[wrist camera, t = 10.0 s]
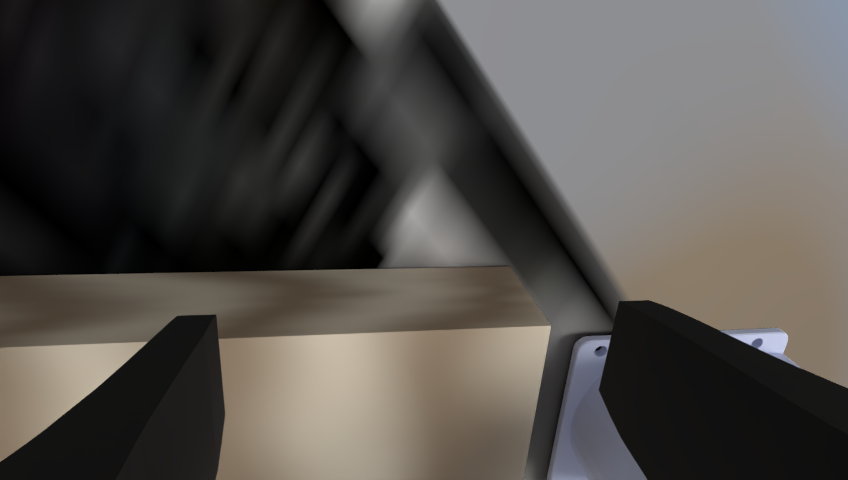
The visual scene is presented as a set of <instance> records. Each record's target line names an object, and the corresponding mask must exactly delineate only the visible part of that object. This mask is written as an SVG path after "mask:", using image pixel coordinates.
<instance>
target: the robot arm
mask: <svg viewBox="0 0 848 480" xmlns="http://www.w3.org/2000/svg"><path fill="white" fill-rule="evenodd" d="M754 340H755V341H754ZM787 341H788V336H787V334H786V333H785V332H783V331H782V330H781V329H779V328H763V329H739V330H717V329H715V328H713V327H711V326H709V325H706V324H704V323H702V322H700V321H698V320H696V319H694V318H692V317H689V316H687V315H685V314H683V313H680V312H678V311H676V310H673V309H671V308H669V307H666V306H663V305H661V304H658V303H655V302H652V301H649V300H645V301H619V304H618V309H617V313H616V317H615V322H614V326H613V330H612V335H603V336H586V337H582V338H581V339H579V340H578V341H577V342H576V343H575V345H574V347H573V352H572V357H571V362H570V367H569V371H568V376H567V381H566V386H565V391H564V396H563V401H562V406H561V411H560V416H559V421H558V425H557V430H556V435H555V440H554V445H553V450H552V455H551V460H550V465H549V470H548V475H547V480H848V388H846V387H843V386H841V385H838V384H836V383H833V382H831V381H829V380H827V379H824V378H822V377H820V376H817V375H815V374H813V373H810V372H808V371H806V370H803V369H802V368H800V367H799V366H798V365H797V364H795V363H794V362H793V361H792V360H790V359H789V358H788V357H786V356H785V355H784V354H783V352H784V350H785V347H786V344H787ZM599 346H602V347H601V349H600V350H598V351H595V350H596V348H598V347H599ZM224 420H225V405H224V394H223V383H222V372H221V360H220V349H219V338H218V327H217V316H216V314H212V315H182V316H176V317H175V318H174V319H173V320H172V321H170V322H169V323H168V324H167V325H166V326H165V327H164V328H163V329H162V330H161V331H159V332H158V333H157V334H156V335H155V336H154V337H153V338H152V339H151V340H150V341H148V342H147V343H146V344H145V345H144V346H143V347H142V348H141V349H140V350H139V351H138V352H137V353H135V354H134V355H133V356H132V357H131V358H130V359H129V360H128V361H127V362H126V363H125V364H123V365H122V366H121V367H120V368H119V369H118V370H117V371H115V372H114V373H113V374H112V375H111V376H110V377H109V378H108V379H106V380H105V381H104V382H103V383H102V384H101V385H100V386H98V387H97V388H96V389H95V390H94V391H92V392H91V393H90V394H89V395H87V396H86V397H85V398H84V399H82V400H81V401H80V402H79V403H77V404H76V405H75V406H74V407H72V408H71V409H70V410H69V411H67V412H66V413H65V414H64V415H62V416H61V417H60V418H59V419H57V420H56V421H55V422H54V423H52V424H51V425H50V426H49V427H47V428H46V429H45V430H44V431H42V432H41V433H40V434H38V435H37V436H36V437H34V438H33V439H32V440H30V441H29V442H28V443H26V444H25V445H23V446H22V447H21V448H19V449H18V450H16V451H15V452H14V453H12V454H11V455H9V456H8V457H7V458H5V459H4V460H2V461H1V462H0V480H216V476H217V472H218V466H219V459H220V451H221V444H222V436H223V428H224Z"/></svg>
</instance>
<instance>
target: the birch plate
mask: <svg viewBox="0 0 848 480" xmlns="http://www.w3.org/2000/svg"><path fill="white" fill-rule="evenodd" d="M212 314H216V316H217V327H218V338H219V349H220V360H221V372H222V383H223V394H224V405H225V420H224V428H223V436H222V444H221V451H220V459H219V466H218V472H217V476H216V480H523V478H524V473H525V467H526V462H527V456H528V451H529V445H530V440H531V434H532V429H533V423H534V418H535V412H536V407H537V401H538V396H539V390H540V385H541V379H542V374H543V368H544V363H545V357H546V352H547V346H548V341H549V335H550V330H551V325H550V323H549V322H548V320H547V319H546V317H545V316H544V315H543V313H542V312H541V310H540V309H539V307H538V306H537V304H536V303H535V302H534V300H533V299H532V297H531V296H530V294H529V293H528V292H527V290H526V289H525V287H524V286H523V284H522V283H521V282H520V280H519V279H518V277H517V276H516V274H515V273H514V271H513V270H512V269H511V267H510V266H502V267H450V268H398V269H345V270H293V271H241V272H189V273H137V274H85V275H33V276H0V462H1V461H2V460H4V459H5V458H7V457H8V456H9V455H11V454H12V453H14V452H15V451H16V450H18V449H19V448H21V447H22V446H23V445H25V444H26V443H28V442H29V441H30V440H32V439H33V438H34V437H36V436H37V435H38V434H40V433H41V432H42V431H44V430H45V429H46V428H47V427H49V426H50V425H51V424H52V423H54V422H55V421H56V420H57V419H59V418H60V417H61V416H62V415H64V414H65V413H66V412H67V411H69V410H70V409H71V408H72V407H74V406H75V405H76V404H77V403H79V402H80V401H81V400H82V399H84V398H85V397H86V396H87V395H89V394H90V393H91V392H92V391H94V390H95V389H96V388H97V387H98V386H100V385H101V384H102V383H103V382H104V381H105V380H106V379H108V378H109V377H110V376H111V375H112V374H113V373H114V372H115V371H117V370H118V369H119V368H120V367H121V366H122V365H123V364H125V363H126V362H127V361H128V360H129V359H130V358H131V357H132V356H133V355H134V354H135V353H137V352H138V351H139V350H140V349H141V348H142V347H143V346H144V345H145V344H146V343H147V342H148V341H150V340H151V339H152V338H153V337H154V336H155V335H156V334H157V333H158V332H159V331H161V330H162V329H163V328H164V327H165V326H166V325H167V324H168V323H169V322H170V321H172V320H173V319H174V318H175V317H176V316H182V315H212Z"/></svg>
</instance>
